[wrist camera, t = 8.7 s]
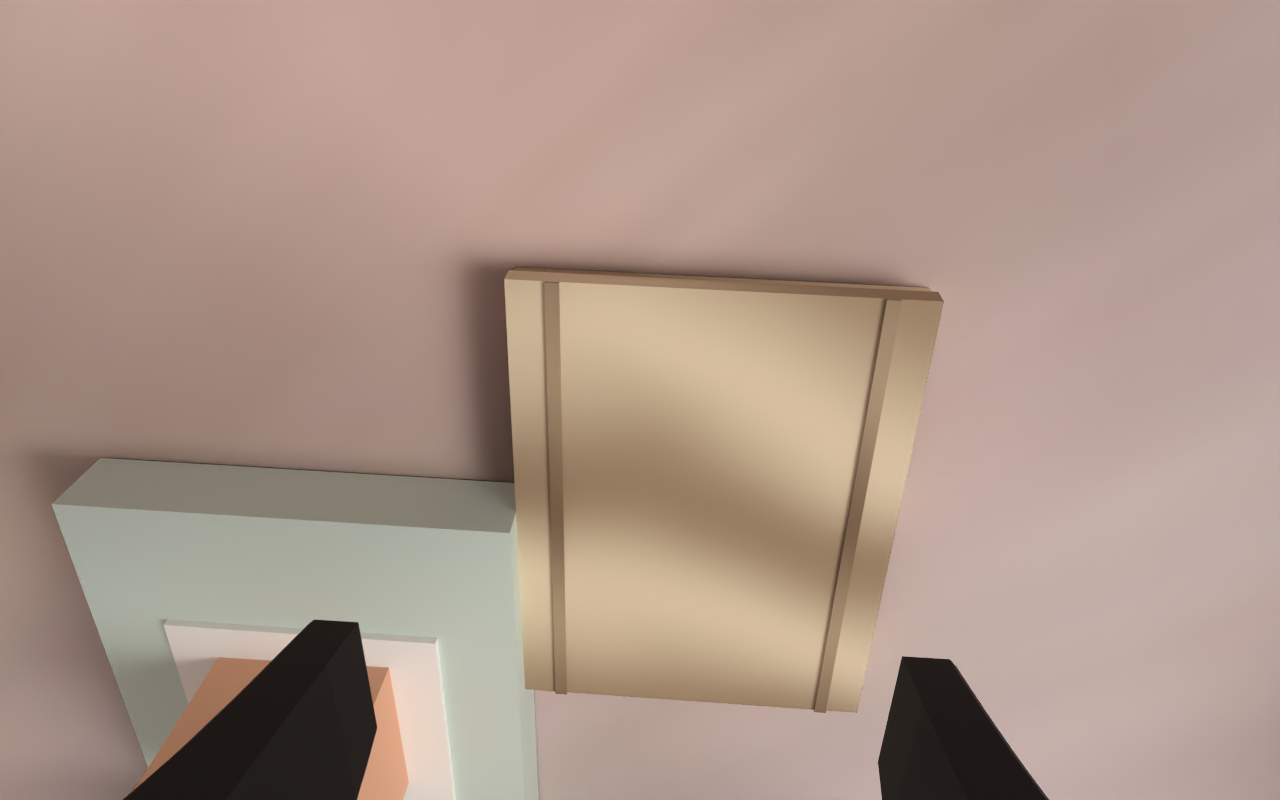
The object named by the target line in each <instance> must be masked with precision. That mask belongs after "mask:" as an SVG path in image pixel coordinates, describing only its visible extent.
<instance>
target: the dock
mask: <svg viewBox="0 0 1280 800" xmlns="http://www.w3.org/2000/svg"><path fill="white" fill-rule="evenodd" d="M51 505H52V507H53V510H54V513H55V515H56V518H57V521H58V524H59V526H60V529H61V532H62V535H63V537H64V540H65V543H66V545H67V548H68V551H69V554H70V556H71V559H72V562H73V565H74V567H75V570H76V573H77V575H78V578H79V581H80V584H81V586H82V589H83V592H84V595H85V597H86V600H87V603H88V605H89V608H90V611H91V614H92V616H93V619H94V622H95V624H96V627H97V630H98V633H99V635H100V638H101V641H102V644H103V646H104V649H105V652H106V654H107V657H108V660H109V663H110V665H111V668H112V671H113V674H114V676H115V679H116V682H117V684H118V687H119V690H120V693H121V695H122V698H123V701H124V704H125V706H126V709H127V712H128V714H129V717H130V720H131V723H132V725H133V728H134V731H135V734H136V736H137V739H138V742H139V744H140V747H141V750H142V753H143V755H144V758H145V761H146V764H147V766H148V767H149V766H150V764H151V763H152V761H153V759H154V758H155V756H156V755H157V753H158V752H159V750H160V748H161V747H162V745H163V744H164V742H165V740H166V739H167V737H168V736H169V734H170V733H171V731H172V729H173V728H174V726H175V725H176V723H177V722H178V720H179V718H180V717H181V715H182V714H183V712H184V711H185V709H186V707H187V706H188V704H189V703H190V701H191V699H192V698H193V696H194V695H195V693H196V692H197V690H198V688H199V687H200V685H201V684H202V682H203V681H204V679H205V677H206V676H207V674H208V673H209V671H210V669H211V668H212V666H213V665H214V663H215V662H216V660H217V658H218V657H222V658H239V659H255V660H273V659H274V658H275V657H276V656H277V655H278V654H279V653H280V652H281V651H282V650H283V649H284V648H285V647H286V646H287V645H288V644H289V643H290V642H291V641H292V640H293V639H294V638H295V637H296V636H297V635H298V634H299V633H300V632H301V631H302V630H303V629H304V628H305V627H306V626H307V625H308V624H309V623H310V622H312V621H313V620H330V621H346V622H358V623H359V629H360V634H361V640H362V645H363V651H364V656H365V662H366V666H371V667H388V668H389V670H390V676H391V682H392V688H393V694H394V699H395V705H396V711H397V717H398V723H399V728H400V734H401V740H402V746H403V752H404V757H405V763H406V769H407V775H408V780H409V784H408V787H407V790H406V793H405V796H404V799H403V800H539V793H538V770H537V748H536V725H535V703H534V690H530V689H525V678H524V659H523V639H522V619H521V600H520V580H519V561H518V541H517V522H516V502H515V483H506V482H489V481H473V480H456V479H440V478H424V477H407V476H391V475H374V474H358V473H341V472H325V471H308V470H292V469H275V468H259V467H242V466H226V465H209V464H193V463H177V462H160V461H144V460H127V459H111V458H100V459H99V460H98V461H97V462H96V463H94V464H93V465H92V466H91V467H90V468H89V469H88V470H87V471H86V472H85V473H84V474H83V475H82V476H81V477H80V478H79V479H77V480H76V481H75V482H74V483H73V484H72V485H71V486H70V487H69V488H68V489H67V490H66V491H65V492H64V493H63V494H62V495H61V496H59V497H58V498H57V499H56V500H55V501H54V502H53V503H52V504H51Z"/></svg>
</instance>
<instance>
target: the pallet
mask: <svg viewBox="0 0 1280 800" xmlns="http://www.w3.org/2000/svg"><path fill="white" fill-rule="evenodd" d="M504 286H505V306H506V326H507V345H508V365H509V384H510V404H511V424H512V443H513V463H514V482H515V502H516V522H517V541H518V561H519V580H520V600H521V619H522V639H523V659H524V678H525V689H530V690H544V691H555V693H556V694H567V692H572V693H587V694H601V695H615V696H629V697H643V698H657V699H671V700H686V701H700V702H714V703H728V704H742V705H756V706H770V707H785V708H799V709H813V710H814V712H822V713H826V710H827V711H841V712H855V713H857V710H858V705H859V701H860V696H861V691H862V686H863V682H864V677H865V672H866V667H867V663H868V658H869V653H870V648H871V644H872V639H873V634H874V630H875V625H876V620H877V615H878V611H879V606H880V601H881V596H882V592H883V587H884V582H885V577H886V573H887V568H888V563H889V558H890V554H891V549H892V544H893V539H894V535H895V530H896V525H897V521H898V516H899V511H900V506H901V502H902V497H903V492H904V487H905V483H906V478H907V473H908V468H909V464H910V459H911V454H912V449H913V445H914V440H915V435H916V430H917V426H918V421H919V416H920V412H921V407H922V402H923V397H924V393H925V388H926V383H927V378H928V374H929V369H930V364H931V359H932V355H933V350H934V345H935V340H936V336H937V331H938V326H939V321H940V317H941V312H942V307H943V303H944V301H943V299H942V298H941V296H940V294H939V292H931V290H930V288H923V287H903V286H883V285H863V284H843V283H823V282H803V281H783V280H764V279H744V278H724V277H704V276H684V275H664V274H644V273H624V272H604V271H584V270H564V269H545V268H525V267H515V269H514V271H513V270H509V271H508V273H507V275H506V277H505V279H504Z"/></svg>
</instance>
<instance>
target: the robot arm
mask: <svg viewBox="0 0 1280 800" xmlns="http://www.w3.org/2000/svg"><path fill="white" fill-rule="evenodd" d="M376 731H377V723H376V717H375V712H374V706H373V701H372V695H371V690H370V684H369V678H368V673H367V667H366V662H365V656H364V651H363V645H362V640H361V634H360V629H359V623H358V622H346V621H330V620H313V621H312V622H310V623H309V624H308V625H307V626H306V627H305V628H304V629H303V630H302V631H301V632H300V633H299V634H298V635H297V636H296V637H295V638H294V639H293V640H292V641H291V642H290V643H289V644H288V645H287V646H286V647H285V648H284V649H283V650H282V651H281V652H280V653H279V654H278V655H277V656H276V657H275V658H274V659H273V660H272V661H271V662H270V663H269V664H268V665H267V666H266V667H265V668H264V669H263V670H262V671H261V672H260V673H259V674H258V675H257V676H256V677H255V678H254V679H253V680H252V681H251V682H250V683H249V684H248V685H247V686H246V687H245V688H244V689H243V690H242V691H241V692H240V693H239V694H238V695H237V696H236V697H235V698H234V699H233V700H231V701H230V702H229V703H228V704H227V705H226V706H225V707H224V708H223V709H222V710H221V711H220V712H219V713H218V714H217V715H216V716H215V717H214V718H213V719H212V720H210V721H209V722H208V723H207V724H206V725H205V726H204V727H203V728H202V729H201V730H200V731H199V732H198V733H197V734H196V735H195V736H194V737H193V738H192V739H190V740H189V741H188V742H187V743H186V744H185V745H184V746H183V747H182V748H181V749H180V750H179V751H178V752H176V753H175V754H174V755H173V756H172V757H171V758H170V759H169V760H168V761H166V762H165V763H164V764H163V765H162V766H161V767H160V768H158V769H157V770H156V771H155V772H154V773H153V774H152V775H150V776H149V777H148V778H147V779H146V780H145V781H144V782H142V783H141V784H140V785H139V786H138V787H137V788H136V789H134V790H133V791H132V792H131V793H130V794H129V795H128V796H127V797H125V798H124V799H123V800H357V798H358V795H359V791H360V788H361V784H362V781H363V778H364V774H365V771H366V768H367V764H368V760H369V757H370V753H371V749H372V746H373V742H374V738H375V735H376ZM878 765H879V774H880V783H881V792H882V800H1049V799H1048V798H1047V796H1046V795H1045V794H1044V792H1043V791H1042V790H1041V788H1040V787H1039V786H1038V784H1037V783H1036V782H1035V780H1034V779H1033V778H1032V776H1031V775H1030V774H1029V772H1028V771H1027V770H1026V768H1025V767H1024V765H1023V764H1022V763H1021V761H1020V760H1019V759H1018V757H1017V756H1016V754H1015V753H1014V752H1013V750H1012V749H1011V747H1010V746H1009V744H1008V743H1007V741H1006V740H1005V739H1004V737H1003V736H1002V734H1001V733H1000V731H999V730H998V729H997V727H996V726H995V724H994V723H993V721H992V720H991V718H990V717H989V715H988V714H987V712H986V711H985V709H984V708H983V706H982V705H981V703H980V702H979V700H978V699H977V697H976V696H975V694H974V693H973V691H972V690H971V688H970V687H969V685H968V684H967V682H966V681H965V679H964V678H963V676H962V675H961V673H960V672H959V670H958V668H957V667H956V666H955V665H954V664H953V663H952V661H951V660H949V659H933V658H918V657H902V660H901V664H900V668H899V673H898V677H897V681H896V686H895V690H894V695H893V699H892V703H891V708H890V712H889V716H888V721H887V725H886V730H885V734H884V738H883V743H882V747H881V751H880V756H879V760H878Z"/></svg>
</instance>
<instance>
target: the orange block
mask: <svg viewBox="0 0 1280 800" xmlns="http://www.w3.org/2000/svg"><path fill="white" fill-rule="evenodd" d="M271 661H272V660H255V659H239V658H222V657H218V658H217V660H216V662H215V663H214V665H213V666H212V668H211V669H210V671H209V673H208V674H207V676H206V677H205V679H204V681H203V682H202V684H201V685H200V687H199V688H198V690H197V692H196V693H195V695H194V696H193V698H192V699H191V701H190V703H189V704H188V706H187V707H186V709H185V711H184V712H183V714H182V715H181V717H180V718H179V720H178V722H177V723H176V725H175V726H174V728H173V729H172V731H171V733H170V734H169V736H168V737H167V739H166V740H165V742H164V744H163V745H162V747H161V748H160V750H159V752H158V753H157V755H156V756H155V758H154V759H153V761H152V763H151V764H150V766H149V767H148V769H147V770H146V772H145V774H144V775H143V777H142V778H141V780H140V781H139V783H138V785H135V786H134V787H133V789H132V790H131V792H132V791H133V790H134V789H136V788H137V787H138V786H139V785H140V784H141V783H142V782H144V781H145V780H146V779H147V778H148V777H149V776H150V775H152V774H153V773H154V772H155V771H156V770H157V769H158V768H160V767H161V766H162V765H163V764H164V763H165V762H166V761H168V760H169V759H170V758H171V757H172V756H173V755H174V754H175V753H176V752H178V751H179V750H180V749H181V748H182V747H183V746H184V745H185V744H186V743H187V742H188V741H189V740H190V739H192V738H193V737H194V736H195V735H196V734H197V733H198V732H199V731H200V730H201V729H202V728H203V727H204V726H205V725H206V724H207V723H208V722H209V721H210V720H212V719H213V718H214V717H215V716H216V715H217V714H218V713H219V712H220V711H221V710H222V709H223V708H224V707H225V706H226V705H227V704H228V703H229V702H230V701H231V700H233V699H234V698H235V697H236V696H237V695H238V694H239V693H240V692H241V691H242V690H243V689H244V688H245V687H246V686H247V685H248V684H249V683H250V682H251V681H252V680H253V679H254V678H255V677H256V676H257V675H258V674H259V673H260V672H261V671H262V670H263V669H264V668H265V667H266V666H267V665H268V664H269V663H270V662H271ZM366 667H367V673H368V678H369V684H370V690H371V695H372V701H373V706H374V712H375V717H376V723H377V731H376V735H375V738H374V742H373V746H372V749H371V753H370V757H369V760H368V764H367V768H366V771H365V774H364V778H363V781H362V784H361V788H360V791H359V795H358V798H357V800H403V799H404V796H405V793H406V790H407V787H408V784H409V780H408V775H407V769H406V763H405V757H404V752H403V746H402V740H401V734H400V728H399V723H398V717H397V711H396V705H395V699H394V694H393V688H392V682H391V676H390V670H389V668H388V667H371V666H366ZM131 792H130V793H131Z"/></svg>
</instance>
